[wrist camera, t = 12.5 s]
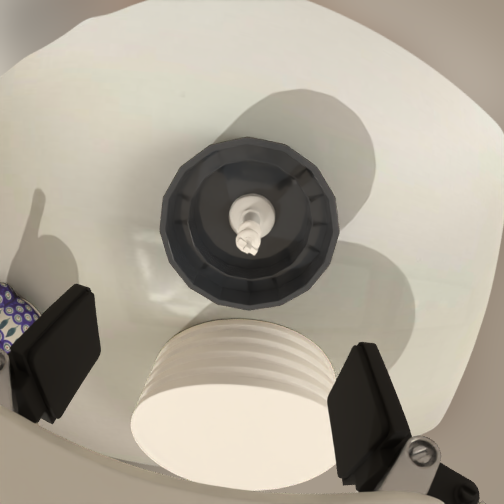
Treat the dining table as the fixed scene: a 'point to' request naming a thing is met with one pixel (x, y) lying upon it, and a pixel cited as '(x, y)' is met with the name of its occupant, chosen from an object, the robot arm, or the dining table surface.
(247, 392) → the plate stack
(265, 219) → the chess piece
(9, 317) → the teapot
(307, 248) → the grey faceted round tub
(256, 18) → the dining table surface
